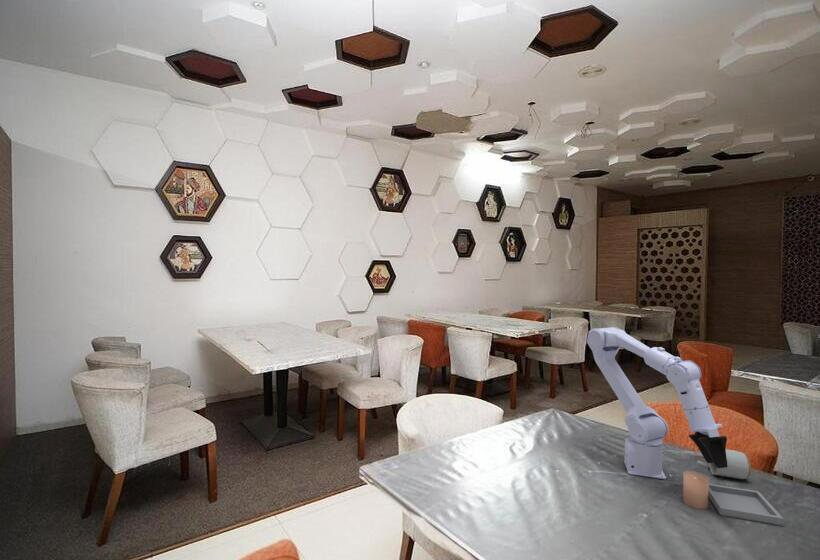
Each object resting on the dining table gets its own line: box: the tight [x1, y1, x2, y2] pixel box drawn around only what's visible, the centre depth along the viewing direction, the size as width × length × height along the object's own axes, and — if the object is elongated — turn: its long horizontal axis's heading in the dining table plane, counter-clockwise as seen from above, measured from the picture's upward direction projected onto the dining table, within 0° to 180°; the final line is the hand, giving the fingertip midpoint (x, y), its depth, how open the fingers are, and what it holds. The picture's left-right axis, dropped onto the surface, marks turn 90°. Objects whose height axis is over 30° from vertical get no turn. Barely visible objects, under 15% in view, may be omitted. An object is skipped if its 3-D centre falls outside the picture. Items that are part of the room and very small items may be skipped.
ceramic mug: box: [708, 448, 752, 480], centre depth 116 cm, size 11×8×8 cm
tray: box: [708, 483, 785, 527], centre depth 100 cm, size 12×12×2 cm
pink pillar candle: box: [682, 470, 710, 510], centre depth 102 cm, size 5×5×7 cm
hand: (716, 464), depth 101 cm, fingers open, 7 cm apart
